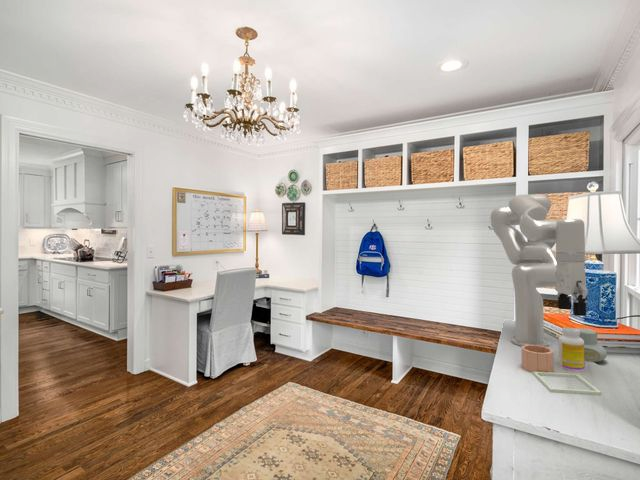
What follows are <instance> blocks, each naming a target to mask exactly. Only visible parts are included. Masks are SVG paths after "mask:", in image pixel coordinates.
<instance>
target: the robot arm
mask: <svg viewBox="0 0 640 480" xmlns="http://www.w3.org/2000/svg"><path fill="white" fill-rule="evenodd" d="M551 206H552V202H551V200H550V198H549V197H548V196H547V195H545V194H543V193H535V194H534V193H533V194H531V193H530V194H519V195H518V194H517V195H515V196H513V197H512V198H510V200H509V202H508V205H504V206H499V207H496V208H494V209H493V210H492V211H491V213H490V224H491V227H492V230H493V232H494V233H495V235H496V236H497V237H498V239H499V240H500V242H501V244H502V247H503V249H504V251H505V255H506V256H507V258H508V260H509V261H510V263H511V264H513V265H514V266H513V268H512V270H511V278H512V283H513V289H514V290H513V291H514V311H515V312H514V313H515V314H514V317H515V318H514V319H515V335H514V336H512V337H511V343H512V344H515V345H517V346H519V347H520V346H521V347H522V346H524V345H539V346H544V347H547V348H548V347H549V346H550V345H549V341H548V340H546V339H544V336H545V335H544V334H545V333H544V332H545V331H544V330H545V329H544V325H545V324H544V299H543V296H542V295H541V293H540V292H539V291H538V290H537V288H554V289H555V291H556V292H557V295H556V296H557V297H558V298H557V308H558V309H559V310H570V308H571V303H570V301H571V299H570V298H571V297H570V296H572V299H573V302H572V308H573V311H572V314H573V316H576V317H577V316H579V317H581V316H582V317H586V316H587V303H588V302H587V299H588V293H589V290H588V288H587V280H586V278H587V277H586V268H585V264H586V240H585V239H586V237H585V234H586V233H585V222H584V220H583V219H580V218H570V219H569V218H567V219H547V217H548V213H549V212H550V210H551ZM514 226H519V229H517V228H515V227H514ZM519 230H520V231H519ZM525 238H526V239H527V240H529V241H531V242H529V241H527V240H526V239H525ZM547 243H555V253H554V250H553V249H552V248H551V247H550V245H549V244H547Z"/></svg>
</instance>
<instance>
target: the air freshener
mask: <svg viewBox="0 0 640 480" xmlns="http://www.w3.org/2000/svg"><path fill="white" fill-rule="evenodd" d="M578 329H579V330H580V335H579V337H580V338H582V339H583V341H584V362H591V363H592V362H593V363H599V362H602V361H604V360H605V359H606V358H607V355H608V353H607V352H608V351H607V350H606V349H605V347H604V346H602V345H601V344H599V343H598V333H597V331H596V330H594V329H590V328H584V327H583V328H578Z"/></svg>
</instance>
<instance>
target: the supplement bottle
mask: <svg viewBox="0 0 640 480" xmlns="http://www.w3.org/2000/svg"><path fill="white" fill-rule="evenodd" d="M561 332H562V335H560V336H559V337H558V366H559V367H560V368H562V369H565V370H568V371H574V372H582V371H585V367H586V366H585V361H584V341H583V339H582V338H580V337H579V335H580V330H579V328H576V327H575V328H574V327H561Z"/></svg>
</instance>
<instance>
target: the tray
mask: <svg viewBox="0 0 640 480" xmlns="http://www.w3.org/2000/svg"><path fill="white" fill-rule="evenodd" d="M532 375H533V376H534V377H535V378H536V380H538V381H539V382H540V383H541V384H542V385H543V386H544V387H545V388H546V389H547V390H548V391H549V392H550V393H557V394H573V395H588V396H589V395H590V396H602V391H601V390H599V389H598V388H596V387H595V386H594V385H592V383H590V382H589V381H587V380H586V378H584V377H582V376H581V375H580V374H578V373H569V372H568V373H567V372H566V373H565V372H564V373H563V372H553V373H549V372H532ZM542 376H543V377H557V378H559V377H560V378H573V379H574V378H575V379H577V380H579V381H580V382H581V383H582V384H584V385H585V386H586V387H587V388H589V389H590V390H589V389H588V390H587V389H574V388H573V389H571V388H558V387H557V388H555V387H552V386H551V385H550V384H549V383H548V382H547V381H546V380H545V379H544V378H543V377H542Z"/></svg>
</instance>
